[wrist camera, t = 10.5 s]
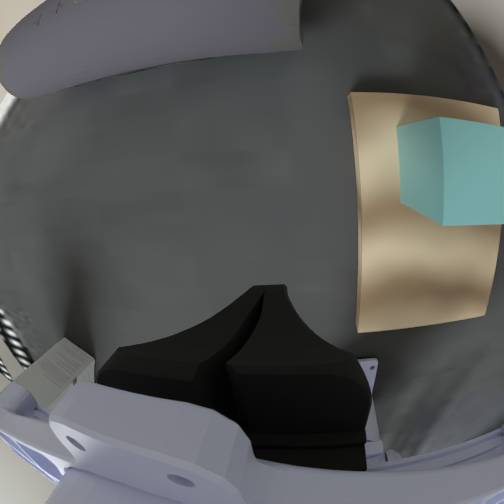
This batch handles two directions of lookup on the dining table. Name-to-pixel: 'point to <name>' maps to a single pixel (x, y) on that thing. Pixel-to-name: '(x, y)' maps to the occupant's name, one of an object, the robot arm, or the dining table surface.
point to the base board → (412, 225)
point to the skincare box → (57, 373)
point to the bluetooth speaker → (137, 38)
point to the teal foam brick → (453, 170)
